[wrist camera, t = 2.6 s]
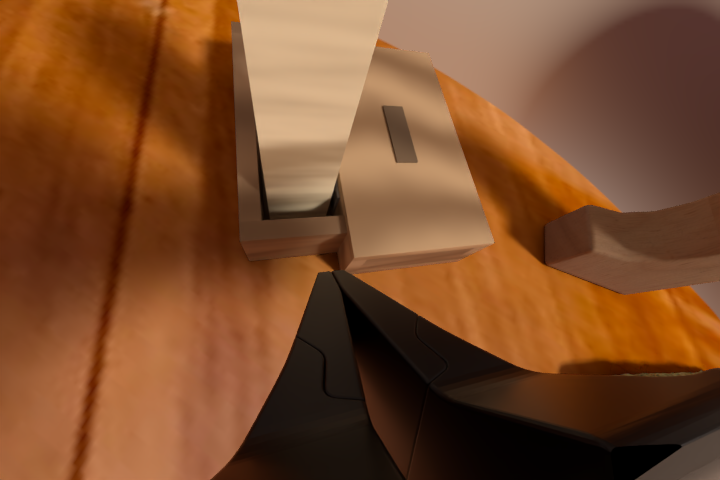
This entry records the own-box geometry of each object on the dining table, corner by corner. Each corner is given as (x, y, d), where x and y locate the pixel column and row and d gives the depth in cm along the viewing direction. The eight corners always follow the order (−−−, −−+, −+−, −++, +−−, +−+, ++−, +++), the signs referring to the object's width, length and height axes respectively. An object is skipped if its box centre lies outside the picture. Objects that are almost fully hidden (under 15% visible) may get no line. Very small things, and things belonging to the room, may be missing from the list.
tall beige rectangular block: (325, 218, 21) (487, -342, 4) (270, 221, 20) (154, -548, 3) (317, 163, 22) (406, -411, 5) (265, 163, 21) (174, -561, 4)
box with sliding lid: (457, 261, 23) (496, 242, 19) (250, 286, 18) (238, 269, 14) (404, 83, 29) (424, 38, 25) (239, 69, 24) (229, 10, 20)
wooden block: (542, 265, 25) (1029, 116, 9) (542, 223, 27) (942, 34, 10) (623, 296, 26) (1195, 216, 10) (618, 254, 28) (1091, 125, 11)
